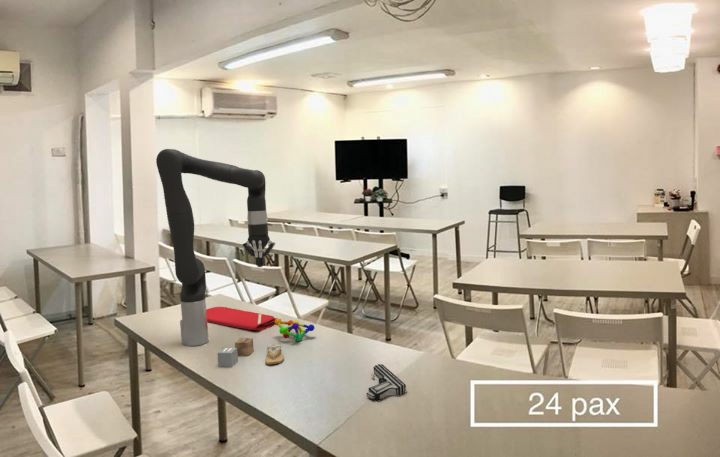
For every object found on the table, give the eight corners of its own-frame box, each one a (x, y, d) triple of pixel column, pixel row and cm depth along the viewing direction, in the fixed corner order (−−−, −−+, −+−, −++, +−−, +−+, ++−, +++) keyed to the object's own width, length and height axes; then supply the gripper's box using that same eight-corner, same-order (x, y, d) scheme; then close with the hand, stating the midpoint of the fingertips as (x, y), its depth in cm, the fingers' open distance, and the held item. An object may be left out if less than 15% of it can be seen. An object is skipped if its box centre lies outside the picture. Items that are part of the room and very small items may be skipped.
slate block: (218, 366, 177) (217, 352, 177) (224, 361, 182) (223, 346, 181) (232, 367, 176) (231, 352, 176) (238, 361, 181) (237, 347, 181)
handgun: (370, 394, 146) (408, 386, 150) (348, 370, 164) (382, 363, 168) (371, 404, 146) (409, 395, 151) (348, 379, 164) (383, 372, 168)
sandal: (266, 367, 175) (265, 353, 175) (262, 351, 190) (261, 338, 190) (285, 364, 177) (285, 350, 176) (280, 349, 192) (279, 336, 191)
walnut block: (235, 355, 187) (234, 342, 186) (241, 350, 192) (240, 337, 191) (248, 356, 186) (247, 342, 185) (253, 351, 191) (252, 337, 190)
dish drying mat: (219, 311, 247) (219, 303, 246) (282, 323, 223) (281, 315, 223) (192, 320, 234) (191, 312, 233) (255, 334, 211) (255, 325, 210)
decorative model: (298, 320, 213) (318, 318, 201) (297, 342, 211) (317, 341, 199) (270, 319, 205) (289, 317, 193) (269, 341, 203) (288, 340, 191)
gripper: (237, 223, 195) (240, 268, 198) (270, 223, 193) (273, 268, 195) (245, 221, 203) (247, 264, 205) (277, 220, 200) (279, 264, 203)
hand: (260, 266), depth 200 cm, fingers closed
